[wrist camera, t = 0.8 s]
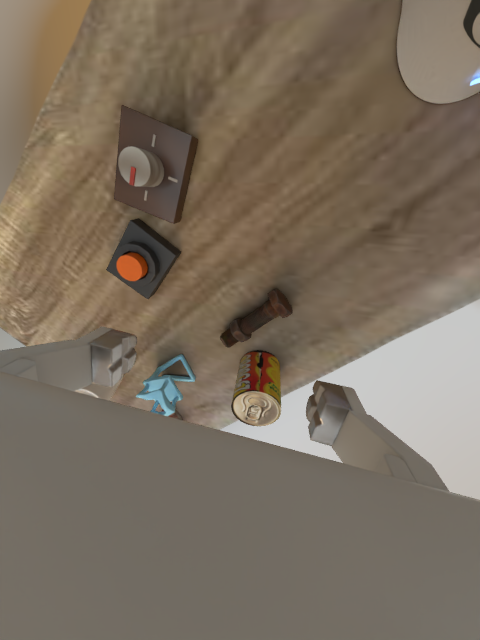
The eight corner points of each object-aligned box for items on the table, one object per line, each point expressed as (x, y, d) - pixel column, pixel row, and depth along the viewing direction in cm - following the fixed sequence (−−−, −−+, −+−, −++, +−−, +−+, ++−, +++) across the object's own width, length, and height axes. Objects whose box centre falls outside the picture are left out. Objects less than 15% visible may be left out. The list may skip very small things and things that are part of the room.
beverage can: (283, 354, 51) (285, 396, 40) (275, 384, 55) (276, 430, 45) (242, 347, 51) (233, 387, 41) (238, 378, 56) (229, 421, 45)
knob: (137, 146, 33) (118, 139, 29) (167, 158, 34) (152, 154, 30) (133, 180, 36) (115, 178, 31) (161, 191, 36) (146, 191, 32)
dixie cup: (134, 374, 60) (110, 405, 51) (119, 389, 63) (94, 421, 54) (106, 353, 58) (76, 383, 49) (91, 371, 61) (61, 401, 52)
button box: (138, 218, 41) (124, 221, 37) (181, 252, 43) (172, 258, 39) (114, 265, 46) (99, 272, 42) (154, 294, 48) (143, 303, 44)
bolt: (226, 329, 52) (281, 289, 45) (237, 349, 51) (296, 312, 44) (210, 332, 47) (271, 288, 40) (223, 354, 46) (287, 313, 39)
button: (129, 246, 39) (122, 249, 38) (152, 263, 40) (146, 267, 39) (119, 266, 41) (112, 269, 40) (141, 282, 42) (135, 286, 41)
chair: (152, 360, 57) (124, 398, 46) (182, 353, 54) (160, 392, 44) (167, 384, 60) (144, 425, 49) (196, 378, 58) (178, 420, 47)
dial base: (133, 111, 34) (120, 104, 31) (198, 139, 35) (191, 135, 32) (124, 198, 40) (113, 199, 37) (180, 221, 41) (173, 224, 38)
